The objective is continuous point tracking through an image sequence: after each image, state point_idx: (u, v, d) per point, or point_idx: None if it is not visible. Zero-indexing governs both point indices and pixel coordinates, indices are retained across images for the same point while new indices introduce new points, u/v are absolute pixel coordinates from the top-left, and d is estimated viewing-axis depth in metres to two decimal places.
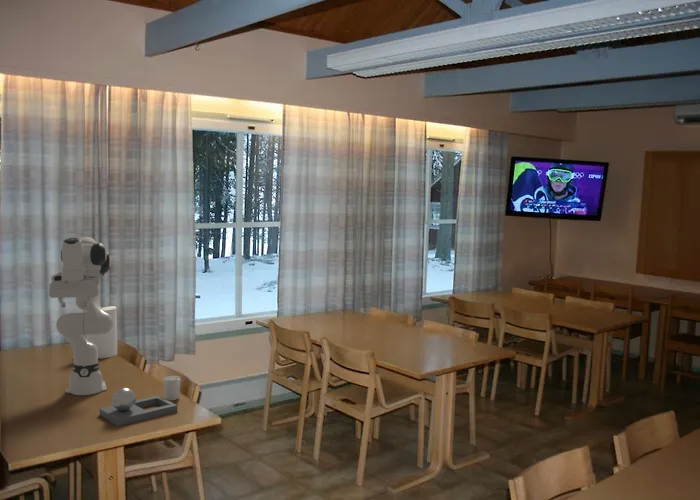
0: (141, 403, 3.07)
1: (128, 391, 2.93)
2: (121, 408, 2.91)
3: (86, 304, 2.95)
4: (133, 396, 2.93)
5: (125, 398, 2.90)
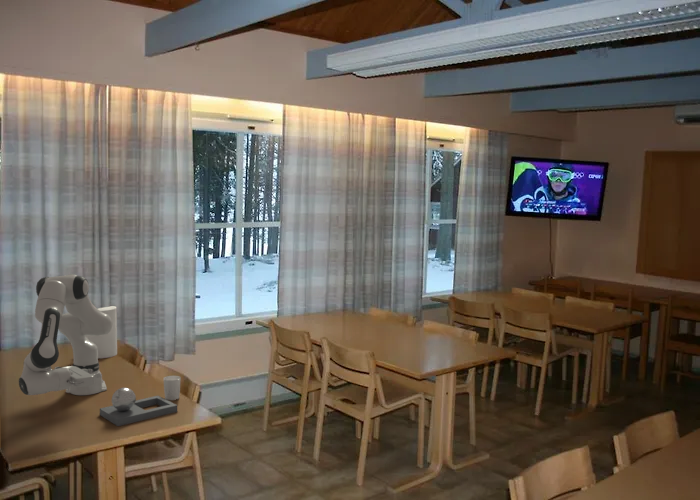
0: (141, 403, 3.07)
1: (128, 391, 2.93)
2: (121, 408, 2.91)
3: None
4: (133, 396, 2.93)
5: (125, 398, 2.90)
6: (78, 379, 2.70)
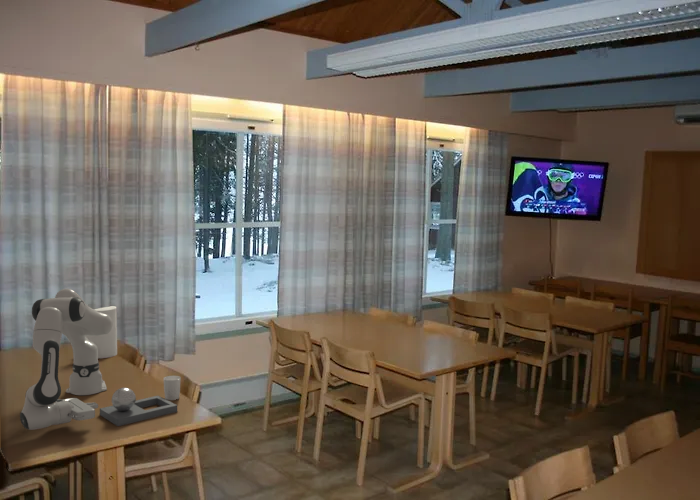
0: (141, 403, 3.07)
1: (128, 391, 2.93)
2: (121, 408, 2.91)
3: None
4: (133, 396, 2.93)
5: (125, 398, 2.90)
6: (79, 413, 2.72)
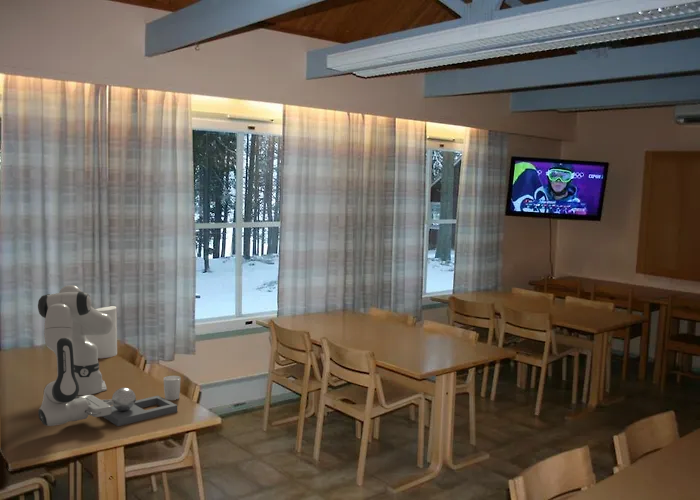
0: (141, 403, 3.07)
1: (128, 391, 2.93)
2: (121, 408, 2.91)
3: None
4: (133, 396, 2.93)
5: (125, 398, 2.90)
6: (96, 410, 2.77)
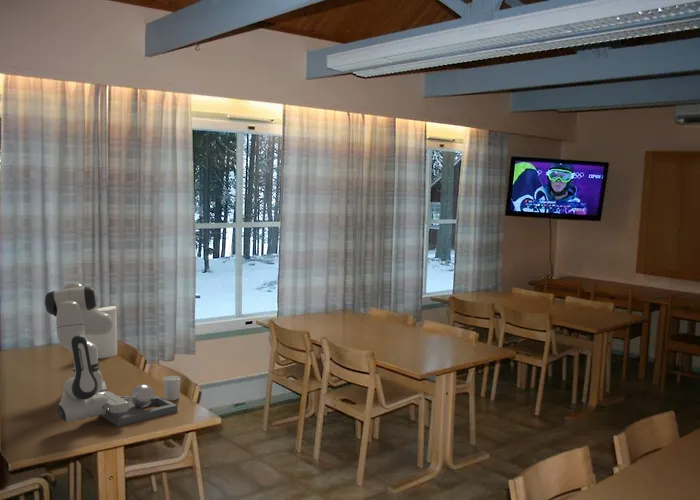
0: None
1: None
2: (140, 392, 2.96)
3: None
4: (148, 403, 2.99)
5: (150, 395, 2.98)
6: (113, 405, 2.82)
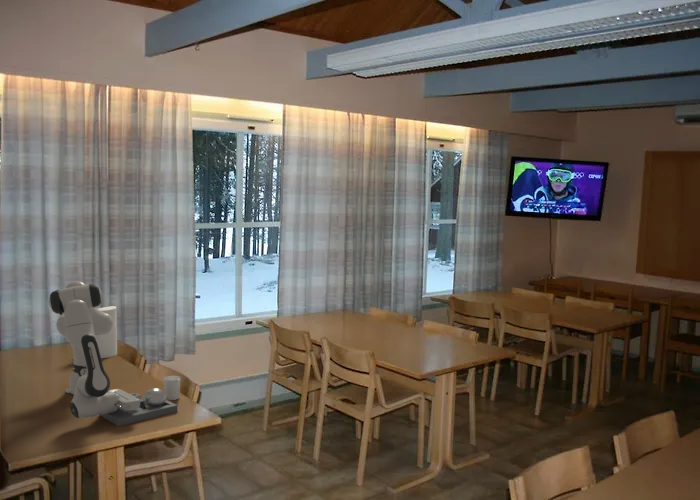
0: (141, 403, 3.07)
1: None
2: (162, 393, 3.03)
3: None
4: (153, 406, 3.00)
5: (161, 404, 3.02)
6: (125, 403, 2.86)
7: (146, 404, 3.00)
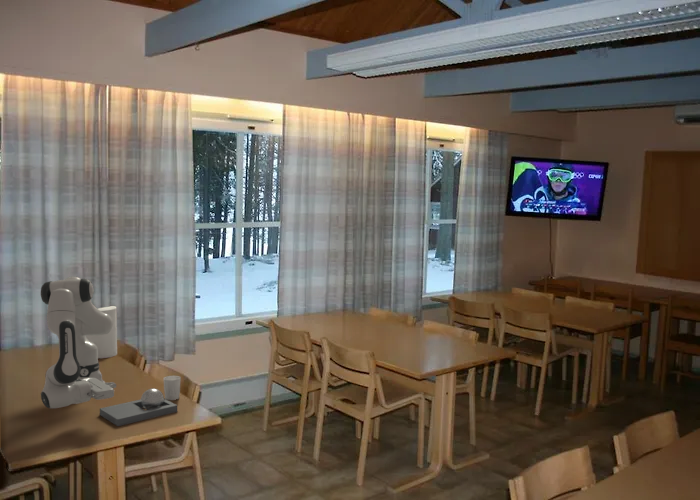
0: None
1: None
2: (159, 393, 3.02)
3: None
4: (151, 407, 3.00)
5: (160, 404, 3.02)
6: (98, 392, 2.77)
7: (145, 406, 3.00)
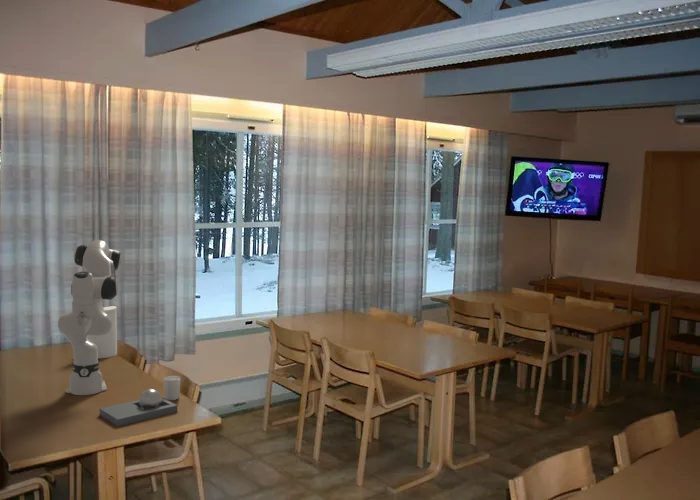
0: None
1: None
2: (155, 393, 3.01)
3: None
4: (150, 408, 2.99)
5: (158, 404, 3.01)
6: (83, 320, 2.79)
7: (144, 408, 3.00)
